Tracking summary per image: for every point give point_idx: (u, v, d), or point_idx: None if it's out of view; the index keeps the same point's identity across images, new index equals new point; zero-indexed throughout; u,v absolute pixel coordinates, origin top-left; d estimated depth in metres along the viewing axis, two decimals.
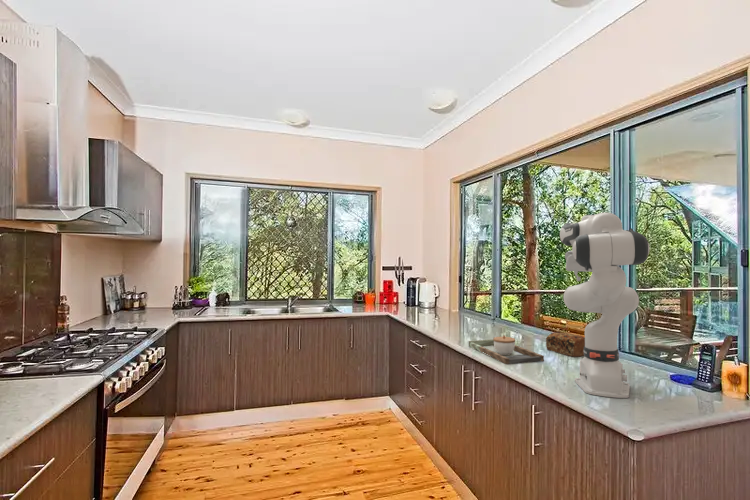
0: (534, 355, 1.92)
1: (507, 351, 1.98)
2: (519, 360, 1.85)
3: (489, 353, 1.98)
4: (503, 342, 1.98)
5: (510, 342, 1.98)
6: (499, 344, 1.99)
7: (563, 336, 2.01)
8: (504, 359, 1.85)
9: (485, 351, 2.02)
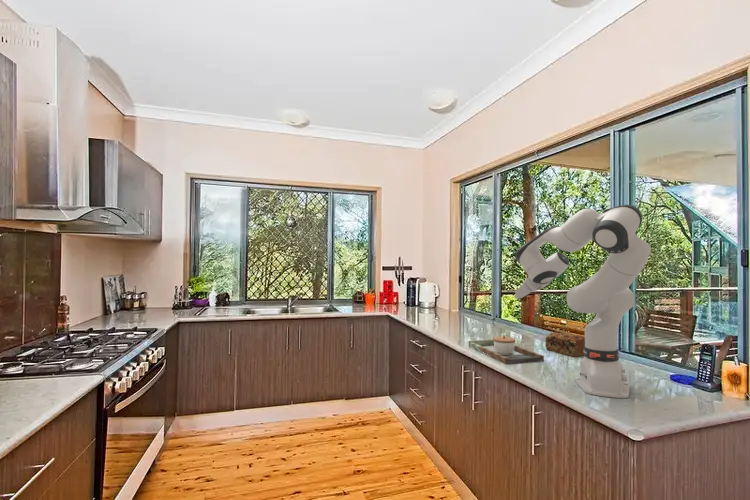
0: (534, 355, 1.92)
1: (507, 351, 1.98)
2: (519, 360, 1.85)
3: (489, 353, 1.98)
4: (503, 342, 1.98)
5: (510, 342, 1.98)
6: (499, 344, 1.99)
7: (563, 336, 2.01)
8: (504, 359, 1.85)
9: (485, 351, 2.02)
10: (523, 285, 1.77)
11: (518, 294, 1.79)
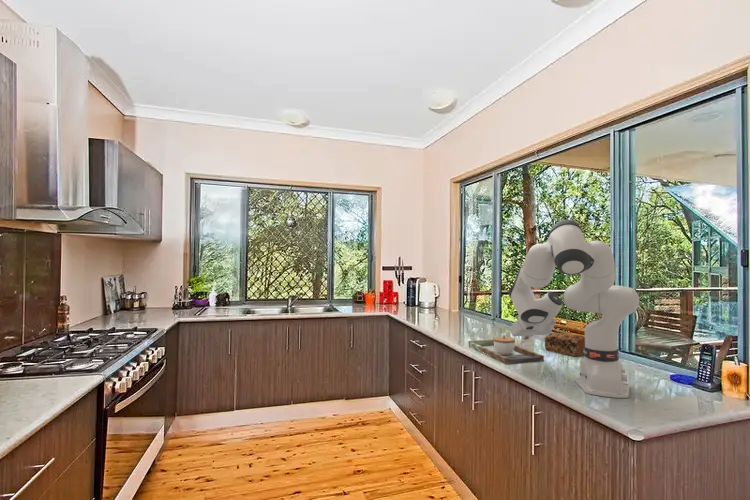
0: (534, 355, 1.92)
1: (507, 351, 1.98)
2: (519, 360, 1.85)
3: (489, 353, 1.98)
4: (503, 342, 1.98)
5: (510, 342, 1.98)
6: (499, 344, 1.99)
7: (564, 336, 2.01)
8: (504, 359, 1.85)
9: (485, 351, 2.02)
10: (516, 322, 1.76)
11: (511, 331, 1.77)
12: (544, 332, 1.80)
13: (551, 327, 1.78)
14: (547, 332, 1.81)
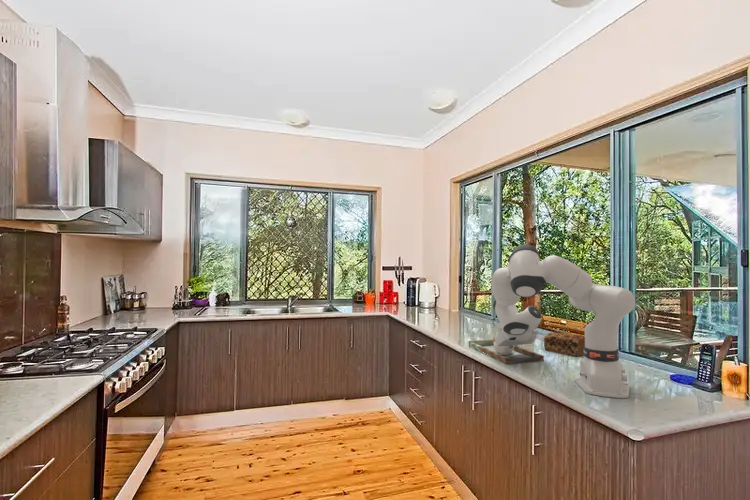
0: (534, 355, 1.92)
1: (507, 351, 1.99)
2: (519, 360, 1.85)
3: (489, 353, 1.98)
4: None
5: None
6: None
7: (564, 336, 2.01)
8: (504, 359, 1.85)
9: (485, 351, 2.02)
10: (500, 333, 1.89)
11: (496, 341, 1.91)
12: (527, 342, 1.93)
13: (533, 337, 1.91)
14: (530, 342, 1.94)
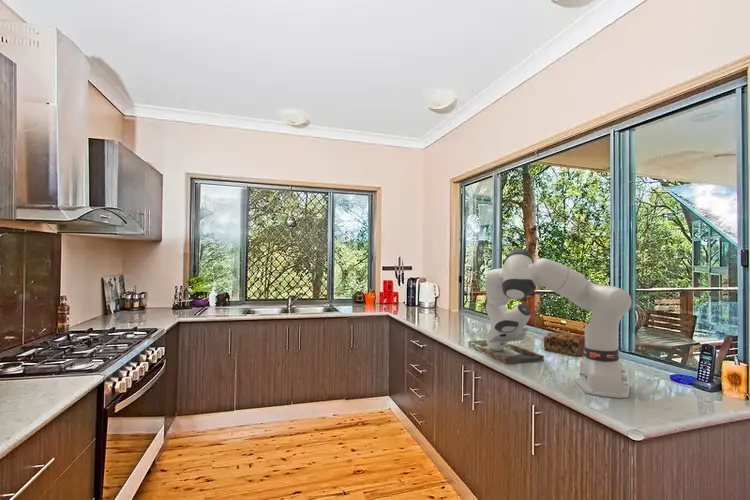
0: (534, 355, 1.92)
1: (498, 347, 2.07)
2: (519, 360, 1.85)
3: (489, 353, 1.98)
4: None
5: None
6: None
7: (564, 336, 2.01)
8: (504, 359, 1.85)
9: (485, 351, 2.02)
10: (491, 329, 1.97)
11: (487, 338, 1.99)
12: (517, 339, 2.01)
13: (523, 334, 1.99)
14: (520, 339, 2.02)
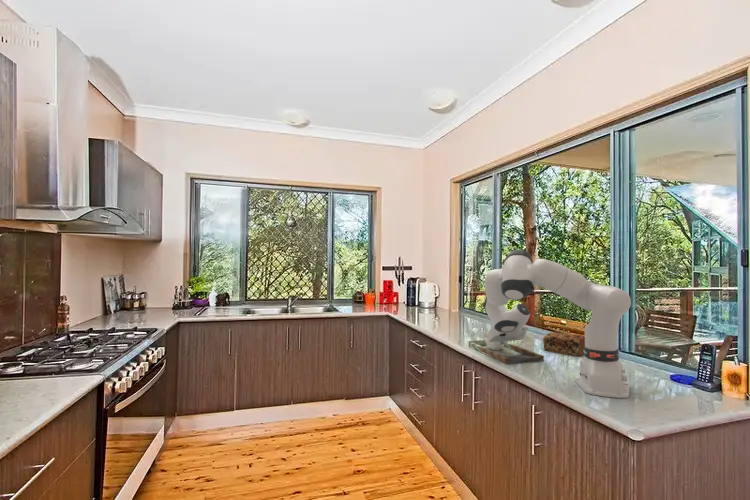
0: (534, 355, 1.92)
1: (497, 346, 2.09)
2: (519, 360, 1.85)
3: (489, 353, 1.98)
4: None
5: None
6: None
7: (564, 336, 2.01)
8: (504, 359, 1.85)
9: (485, 351, 2.02)
10: (491, 329, 1.98)
11: (487, 337, 2.00)
12: (517, 338, 2.03)
13: (523, 334, 2.00)
14: (520, 338, 2.03)
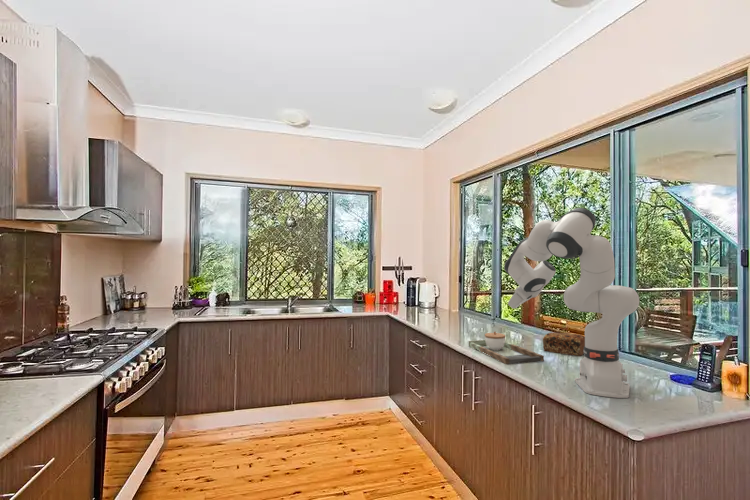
0: (534, 355, 1.92)
1: (497, 346, 2.09)
2: (519, 360, 1.85)
3: (489, 353, 1.98)
4: (493, 338, 2.08)
5: (500, 338, 2.08)
6: (489, 339, 2.10)
7: (565, 336, 2.01)
8: (504, 359, 1.85)
9: (485, 351, 2.02)
10: (514, 294, 1.84)
11: (510, 304, 1.85)
12: None
13: None
14: None
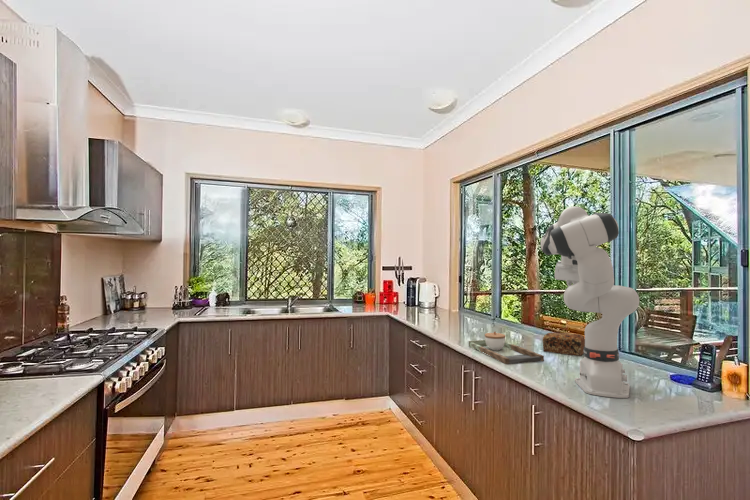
0: (534, 355, 1.92)
1: (497, 346, 2.09)
2: (519, 360, 1.85)
3: (489, 353, 1.98)
4: (493, 338, 2.08)
5: (500, 338, 2.08)
6: (489, 339, 2.10)
7: (565, 336, 2.01)
8: (504, 359, 1.85)
9: (485, 351, 2.02)
10: None
11: None
12: None
13: None
14: None
